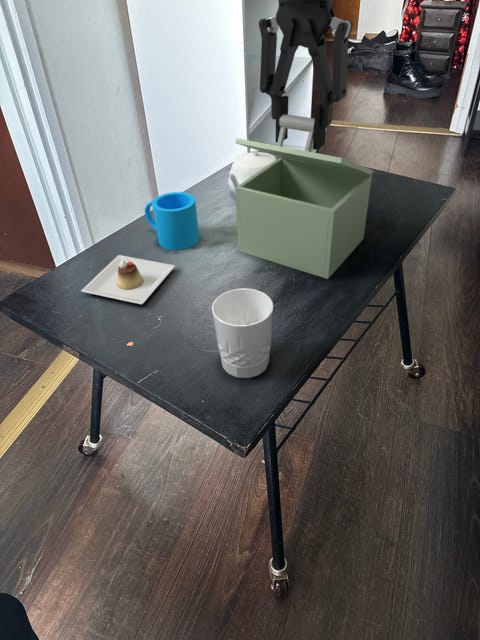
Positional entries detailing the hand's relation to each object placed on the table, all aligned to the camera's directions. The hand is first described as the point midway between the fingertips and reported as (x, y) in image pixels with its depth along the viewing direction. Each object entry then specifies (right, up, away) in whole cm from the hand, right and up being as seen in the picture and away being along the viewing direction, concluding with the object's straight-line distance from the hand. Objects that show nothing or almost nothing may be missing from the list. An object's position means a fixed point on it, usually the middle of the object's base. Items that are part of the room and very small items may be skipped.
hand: (299, 143), depth 77 cm
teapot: (-6, 0, +33) cm, 33 cm away
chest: (+2, -14, +14) cm, 20 cm away
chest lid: (+2, -1, +4) cm, 4 cm away
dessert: (-29, -22, +7) cm, 37 cm away
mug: (-23, -12, +19) cm, 32 cm away
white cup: (-9, -35, -9) cm, 37 cm away
